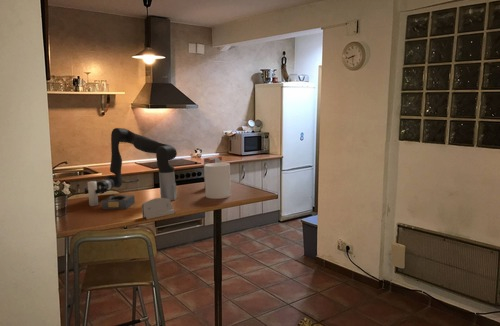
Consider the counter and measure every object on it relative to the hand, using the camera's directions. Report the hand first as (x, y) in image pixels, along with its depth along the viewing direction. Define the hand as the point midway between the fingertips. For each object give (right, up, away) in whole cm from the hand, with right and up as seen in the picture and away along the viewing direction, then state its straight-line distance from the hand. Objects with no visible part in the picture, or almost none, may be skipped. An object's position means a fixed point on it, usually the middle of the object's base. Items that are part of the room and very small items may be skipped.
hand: (90, 192), depth 238 cm
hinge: (+45, -11, -23) cm, 52 cm away
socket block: (+17, -8, -2) cm, 19 cm away
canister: (+74, -4, +18) cm, 76 cm away
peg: (0, -8, +4) cm, 9 cm away
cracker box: (+68, 0, +49) cm, 84 cm away
